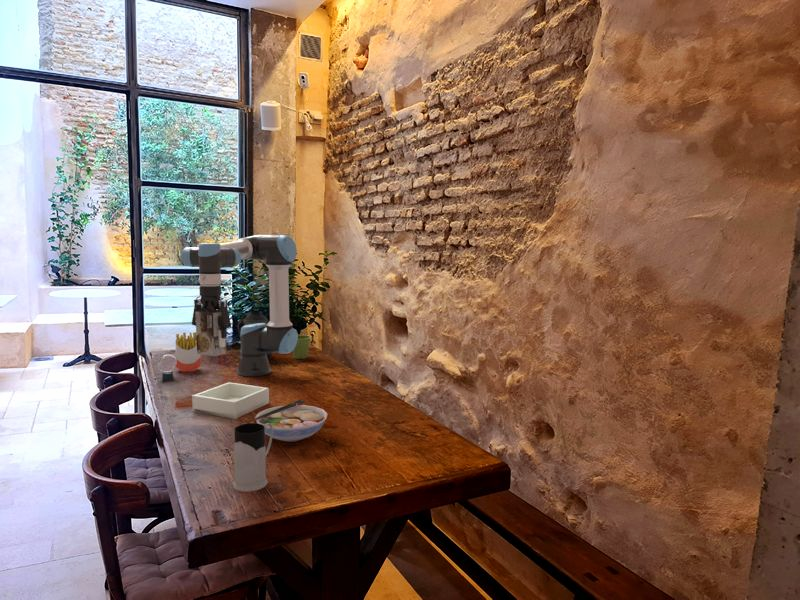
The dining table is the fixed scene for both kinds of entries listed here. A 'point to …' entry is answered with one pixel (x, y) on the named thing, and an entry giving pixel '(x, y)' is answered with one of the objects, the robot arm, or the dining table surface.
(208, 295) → the robot arm
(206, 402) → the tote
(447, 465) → the dining table surface
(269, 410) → the ramen bowl
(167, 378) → the watch
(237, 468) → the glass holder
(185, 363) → the french fries container
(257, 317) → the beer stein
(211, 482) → the dining table surface
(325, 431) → the dining table surface
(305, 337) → the plant pot
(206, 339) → the coffee box
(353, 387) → the dining table surface
